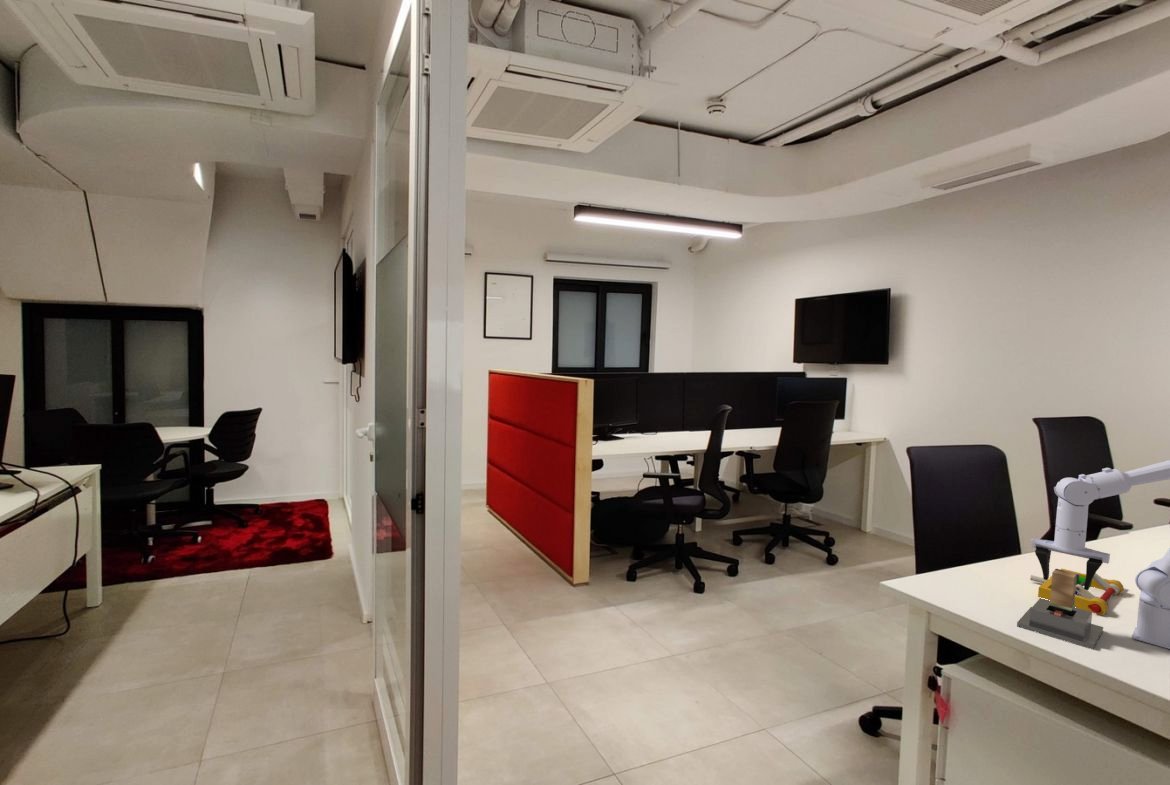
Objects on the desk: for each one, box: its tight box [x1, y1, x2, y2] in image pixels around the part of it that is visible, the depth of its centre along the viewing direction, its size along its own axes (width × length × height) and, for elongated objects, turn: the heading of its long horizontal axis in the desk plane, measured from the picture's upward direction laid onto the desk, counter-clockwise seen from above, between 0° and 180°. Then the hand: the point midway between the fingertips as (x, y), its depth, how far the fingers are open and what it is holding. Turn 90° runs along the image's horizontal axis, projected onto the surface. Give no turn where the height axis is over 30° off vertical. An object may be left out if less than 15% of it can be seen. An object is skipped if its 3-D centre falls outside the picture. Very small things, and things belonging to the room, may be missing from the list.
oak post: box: [1049, 568, 1077, 611], centre depth 139 cm, size 4×4×8 cm
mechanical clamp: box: [1029, 568, 1125, 616], centre depth 164 cm, size 18×6×30 cm
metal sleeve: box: [1016, 598, 1104, 650], centre depth 140 cm, size 14×14×5 cm
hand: (1065, 583), depth 141 cm, fingers open, 7 cm apart
